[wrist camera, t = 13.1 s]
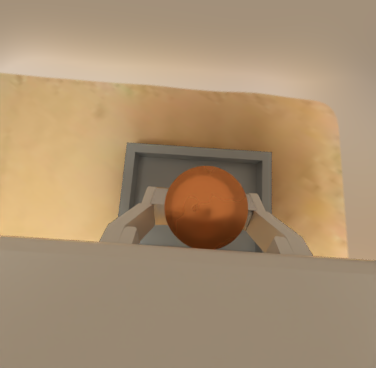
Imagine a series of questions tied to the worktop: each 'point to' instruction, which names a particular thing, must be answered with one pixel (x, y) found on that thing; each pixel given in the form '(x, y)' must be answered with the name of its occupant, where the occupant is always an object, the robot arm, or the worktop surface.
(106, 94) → the worktop surface
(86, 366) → the robot arm
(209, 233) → the pin
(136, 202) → the tray
